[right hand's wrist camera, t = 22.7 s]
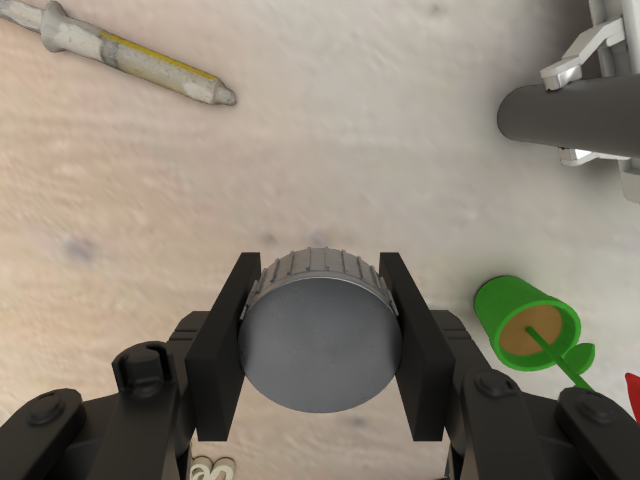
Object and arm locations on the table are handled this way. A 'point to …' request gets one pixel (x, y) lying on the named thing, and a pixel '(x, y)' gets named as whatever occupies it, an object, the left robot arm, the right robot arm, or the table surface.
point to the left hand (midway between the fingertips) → (555, 120)
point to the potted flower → (538, 332)
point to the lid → (320, 332)
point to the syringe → (115, 51)
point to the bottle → (577, 115)
